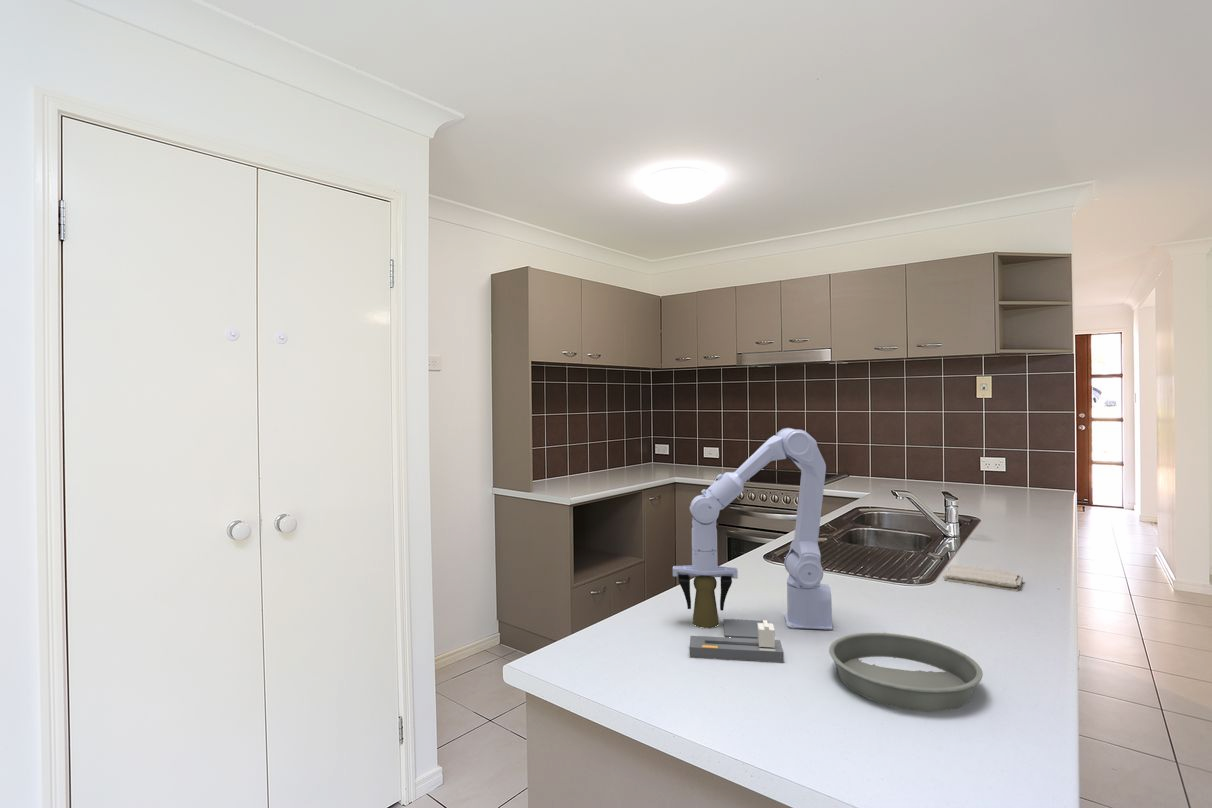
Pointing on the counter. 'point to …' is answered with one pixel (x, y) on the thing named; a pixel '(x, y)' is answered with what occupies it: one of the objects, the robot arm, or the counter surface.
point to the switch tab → (766, 634)
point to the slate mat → (741, 628)
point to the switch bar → (734, 649)
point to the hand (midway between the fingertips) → (705, 608)
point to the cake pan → (906, 671)
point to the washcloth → (983, 577)
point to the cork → (705, 602)
